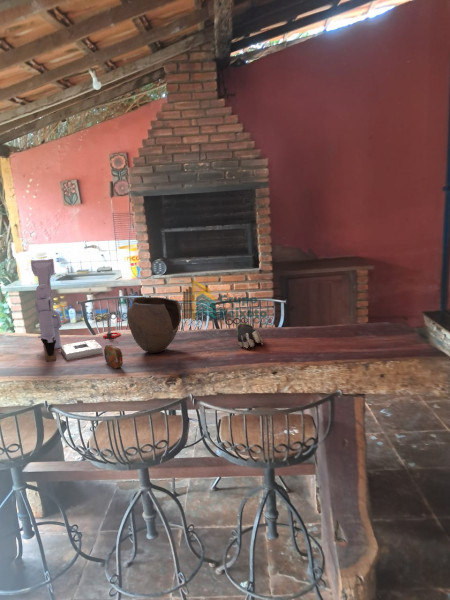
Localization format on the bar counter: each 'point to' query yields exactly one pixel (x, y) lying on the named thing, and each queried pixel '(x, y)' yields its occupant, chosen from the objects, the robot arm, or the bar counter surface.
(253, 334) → the glove
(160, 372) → the bar counter surface
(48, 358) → the pin
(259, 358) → the bar counter surface
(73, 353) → the collar
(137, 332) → the clay pot
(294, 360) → the bar counter surface
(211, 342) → the bar counter surface
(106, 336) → the tow hook
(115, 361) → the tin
